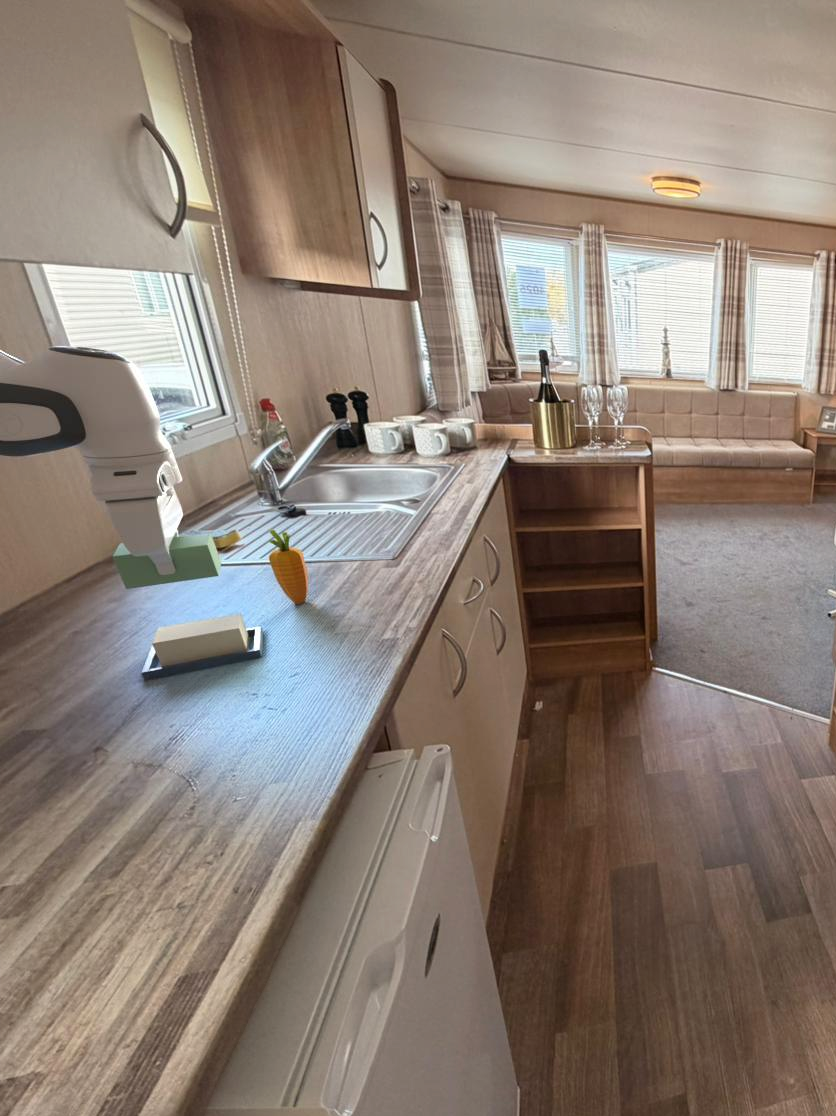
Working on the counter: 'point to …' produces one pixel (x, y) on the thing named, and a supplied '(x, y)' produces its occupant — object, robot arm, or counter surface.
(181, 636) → the cream pad
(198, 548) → the sage pad
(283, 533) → the carrot
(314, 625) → the counter surface
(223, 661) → the pad tray
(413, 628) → the counter surface
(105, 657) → the counter surface
